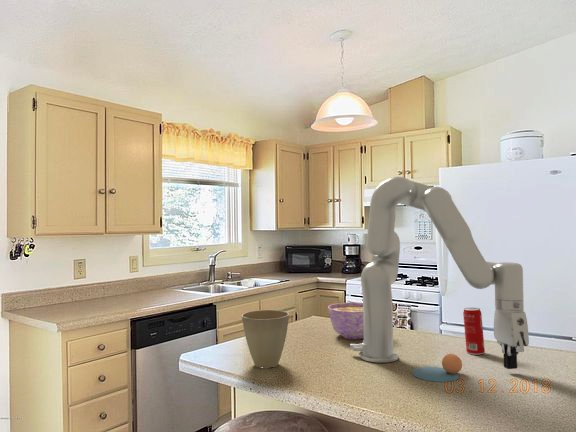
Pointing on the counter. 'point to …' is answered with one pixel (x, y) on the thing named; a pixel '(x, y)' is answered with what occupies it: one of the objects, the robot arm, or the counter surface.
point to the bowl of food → (347, 319)
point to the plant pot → (265, 335)
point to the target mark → (434, 374)
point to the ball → (451, 363)
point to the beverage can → (473, 331)
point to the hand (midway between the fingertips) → (510, 367)
